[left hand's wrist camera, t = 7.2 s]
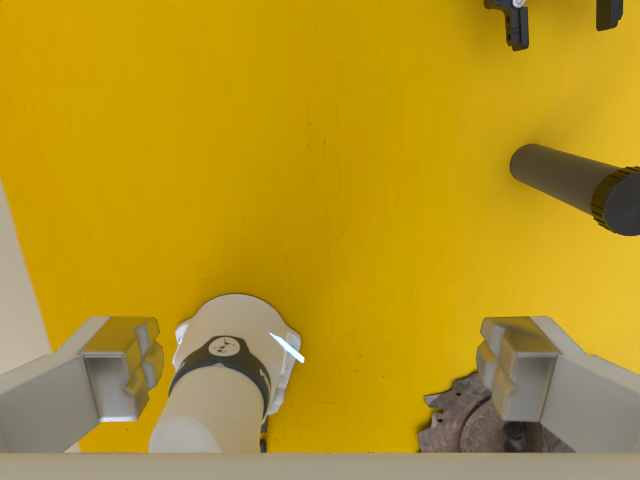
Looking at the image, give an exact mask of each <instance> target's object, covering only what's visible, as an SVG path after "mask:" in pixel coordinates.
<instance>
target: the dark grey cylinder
mask: <svg viewBox="0 0 640 480" xmlns="http://www.w3.org/2000/svg"><path fill="white" fill-rule="evenodd" d="M617 169H622V168H620V167H616V166H613V165H609V164H605V163H602V162H598V161H594V160H591V159H587V158H584V157H580V156H576V155H573V154H569V153H566V152H562V151H558V150H555V149H551V148H547V147H544V146H540V145H536V144H529V145H525V146H523V147H521V148H520V149H518V150H517V151H516V152H515V154H514V155H513V157H512V159H511V162H510V171H511V173H512V175H513V176H514V178H516V179H517V180H519V181H521V182H523V183H525V184H527V185H529V186H531V187H533V188H535V189H538V190H540V191H542V192H544V193H546V194H548V195H550V196H552V197H554V198H556V199H558V200H560V201H563V202H565V203H567V204H569V205H571V206H573V207H575V208H577V209H579V210H581V211H583V212H585V213H587V214H590V215H592V213H591V205H590V204H591V199H592V195H593V193H594V191H595V189H596V187H597V186H598V185H599V183H600V182H601V181H602V180H603V179H604V178H605V177H607V176H608V175H609V174H611V173H612V172H614V171H616V170H617ZM592 216H593V215H592Z"/></svg>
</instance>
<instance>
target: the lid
mask: <svg viewBox="0 0 640 480" xmlns="http://www.w3.org/2000/svg"><path fill="white" fill-rule="evenodd" d="M590 205H591V213H592V215H593V217H594V220H596V221H597V222H598V223H599V224H598V225H600V226H602V227H604V228H606V229H608V230H610V231H612V232H614V233H618V234H620V235H624V236H636V235H640V167H637V166H635V167H626V168H622V169H617V170H616V171H614V172H612V173H611V174H609V175H608V176H607V177H605V178H604V179H603V180H602V181H601V182H600V183H599V185H598V186H597V187H596V189H595V191H594V193H593V195H592V199H591V204H590Z"/></svg>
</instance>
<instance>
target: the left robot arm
mask: <svg viewBox="0 0 640 480" xmlns="http://www.w3.org/2000/svg"><path fill="white" fill-rule="evenodd" d="M159 333H160V330H159V325H158V321H157V320H156V319H155V318H154V317H134V316H93V317H89V318H88V319H87V320H86V321H85V322H84V323H83V324H82V325H81V326H80V327H79V328H78V329H77V330H76V331H75V332H74V333H73V334H72V335H71V336H70V337H69V338H68V339H67V340H66V341H65V342H64V343H63V344H62V345H61V346H60V347H59V348H58V349H57V350H56V351H55V352H54V353H53V354H52V355H44V356H42V357H39V358H37V359H35V360H33V361H31V362H28V363H26V364H24V365H22V366H20V367H17V368H15V369H13V370H11V371H9V372H6V373H4V374H2V375H0V480H640V375H638V374H636V373H634V372H632V371H629V370H627V369H625V368H623V367H620V366H618V365H616V364H614V363H612V362H609V361H607V360H605V359H603V358H601V357H598V356H596V355H588V354H587V353H586V352H585V351H584V350H583V349H582V348H581V347H580V346H579V345H578V344H577V343H576V342H575V341H574V340H573V339H572V338H571V337H570V336H569V335H568V334H567V333H566V332H565V331H564V330H563V329H562V328H561V327H560V326H559V325H558V324H557V323H556V322H555V321H554V320H553V319H552V318H550V317H548V316H525V317H488V318H484V320H483V322H482V325H481V330H480V333H481V334H482V336H483V338H484V339H485V340H484V341H483V342H482V343H481V344H480V345H479V346H478V348H477V355H476V364H477V371H478V375H479V378H480V380H481V382H482V384H483V386H485V387H486V388H488V389H489V390H491V391H492V395H491V401H492V402H493V404H494V406H495V408H496V410H497V411H498V413H499V415H500V417H501V419H502V421H530V422H540V424H541V425H543V426H544V427H545V428H547V429H548V430H549V431H550V432H552V433H553V434H554V435H555V436H557V437H558V438H559V439H560V440H562V441H563V442H564V443H565V444H567V445H568V446H569V447H571V448H572V449H573V450H574V451H576V452H577V453H266V444H265V441H264V440H263V439H261V438H260V433H263V432H267V426H268V415H271V414H273V413H276V412H277V411H278V409H279V407H280V405H282V404H283V400H284V396H285V389H286V387H287V384H288V381H289V378H290V375H291V372H292V369H293V366H294V363H295V360H296V358H297V359H298V360H299V361H301V362H302V363H303V362H304V357H302V356H301V355H300V354H299V353H298V352H299V349H300V346H301V342H302V338H301V336H300V335H299V334H298V333H297V332H295V331H294V330H292V329H291V328H289V327H288V326H287V325H286V324H285V322H284V321H283V319H282V318H281V316H280V315H279V313H278V312H277V311H276V310H275V309H274V308H273V307H272V306H270V305H269V304H268V303H266V302H264V301H263V300H261V299H258V298H256V297H253V296H249V295H244V294H228V295H223V296H219V297H216V298H214V299H212V300H210V301H209V302H207V303H206V304H204V305H203V306H202V307H201V308H200V309H199V311H198V312H197V313H196V314H195V315H194V316H193V317H192V318H191V319H188V320H186V321H184V322H182V323H181V324H179V325H178V326H177V329H176V331H175V335H176V339H177V343H178V347H177V350H176V352H175V355H174V357H173V361H172V364H173V365H174V366H175V371H176V373H175V375H174V377H173V380H172V383H171V386H170V390H169V398H168V400H167V403H166V405H165V407H164V409H163V411H162V413H161V415H160V417H159V419H158V421H157V423H156V425H155V427H154V430H153V432H152V434H151V437H150V441H149V451H148V453H63V452H64V451H66V450H67V449H68V448H70V447H71V446H72V445H73V444H75V443H76V442H77V441H78V440H80V439H81V438H82V437H84V436H85V435H86V434H87V433H89V432H90V431H91V430H92V429H94V428H95V427H96V426H97V425H99V424H100V422H110V421H138V419H139V417H140V415H141V413H142V412H143V410H144V408H145V406H146V404H147V402H148V401H149V395H148V391H149V390H151V389H152V388H154V387H155V386H157V384H158V382H159V380H160V378H161V375H162V370H163V366H164V354H163V348H162V346H161V345H160V344H159V343H158V342H157V341H156V340H155V339H156V338H157V336H158V334H159ZM292 347H294V348H292ZM259 445H260V446H261V453H259Z"/></svg>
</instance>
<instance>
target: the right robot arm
mask: <svg viewBox="0 0 640 480" xmlns="http://www.w3.org/2000/svg"><path fill="white" fill-rule="evenodd" d="M525 2H526V0H484V6H485V8H486V9H498V10H502V11H503V12H504V14H505V25H506V42H507V44H508V46H512V49H513V51H519V50H523V49H527V48H528V46H529V33H528V8H527V7H525V8H524V6H523V5H524V4H525ZM622 14H623V0H597V8H596V29H597V30H598V31H602V30H608V29H612V28H615V27H616V26H617V24H618V20H621V17H622Z"/></svg>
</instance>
